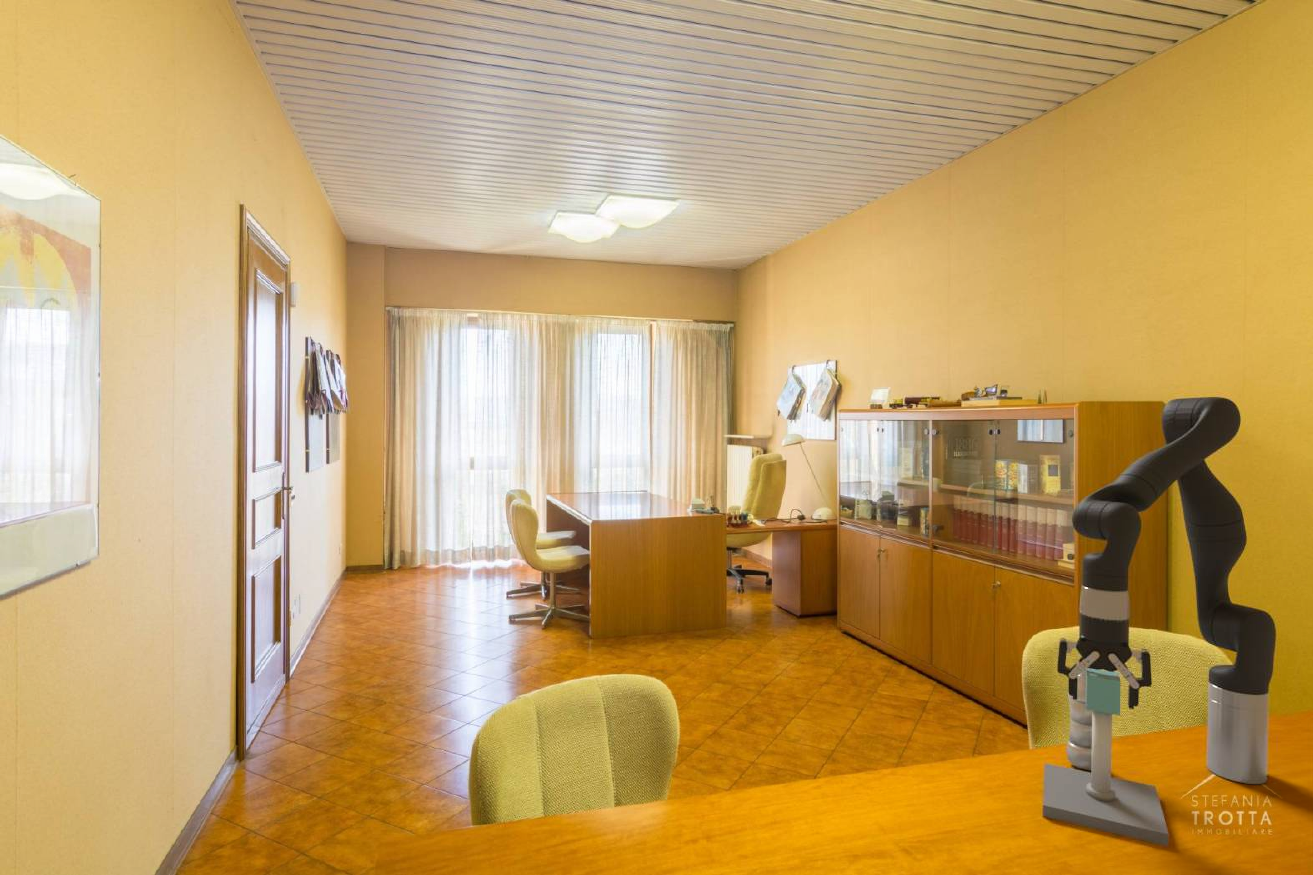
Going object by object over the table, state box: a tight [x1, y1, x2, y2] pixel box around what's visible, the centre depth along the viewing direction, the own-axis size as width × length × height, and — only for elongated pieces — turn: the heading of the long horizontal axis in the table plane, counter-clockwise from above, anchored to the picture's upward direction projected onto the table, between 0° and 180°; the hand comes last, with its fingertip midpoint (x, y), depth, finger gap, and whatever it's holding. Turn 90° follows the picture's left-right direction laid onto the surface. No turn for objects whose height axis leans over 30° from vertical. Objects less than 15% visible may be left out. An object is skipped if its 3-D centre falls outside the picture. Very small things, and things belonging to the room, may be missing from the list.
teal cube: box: [1086, 668, 1122, 716], centre depth 129 cm, size 5×5×6 cm
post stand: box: [1042, 711, 1170, 847], centre depth 129 cm, size 18×18×18 cm
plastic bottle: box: [1065, 666, 1093, 771], centre depth 144 cm, size 6×7×20 cm
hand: (1102, 702), depth 129 cm, fingers open, 8 cm apart
